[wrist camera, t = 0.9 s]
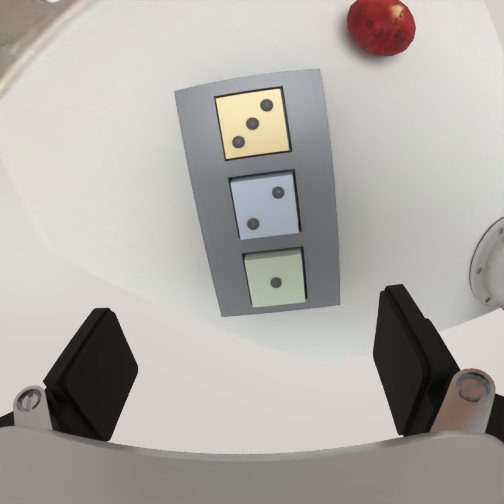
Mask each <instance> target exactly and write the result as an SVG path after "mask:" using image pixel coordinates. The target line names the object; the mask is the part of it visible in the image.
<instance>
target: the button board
mask: <svg viewBox="0 0 504 504" xmlns="http://www.w3.org/2000/svg"><path fill="white" fill-rule="evenodd" d="M274 89H280V92H281V99H282V105H283V112H284V118H285V125H286V132H287V139H288V146H289V150H288V151H279V152H271V153H264V154H256V155H249V156H243V157H236V158H230V159H226V155H225V149H224V143H223V138H222V132H221V126H220V120H219V114H218V108H217V103H216V98H222V97H227V96H233V95H239V94H245V93H252V92H259V91H266V90H274ZM174 93H175V99H176V105H177V111H178V116H179V122H180V127H181V133H182V138H183V143H184V149H185V154H186V159H187V164H188V169H189V174H190V179H191V184H192V189H193V194H194V198H195V203H196V208H197V213H198V217H199V222H200V226H201V231H202V235H203V240H204V244H205V249H206V253H207V257H208V262H209V266H210V270H211V274H212V279H213V283H214V287H215V291H216V295H217V299H218V303H219V307H220V311H221V315H222V317H227V316H240V315H251V314H262V313H273V312H283V311H292V310H301V309H310V308H319V307H327V306H335V305H340V274H339V247H338V228H337V212H336V198H335V185H334V174H333V163H332V154H331V144H330V136H329V127H328V119H327V112H326V105H325V98H324V91H323V84H322V78H321V72H320V69H307V70H296V71H286V72H277V73H269V74H261V75H254V76H247V77H241V78H235V79H229V80H224V81H219V82H213V83H208V84H204V85H199V86H194V87H190V88H186V89H181V90H177V91H174ZM283 171H291V172H292V177H293V185H294V193H295V201H296V210H297V219H298V228H299V233H294V234H285V235H277V236H268V237H260V238H251V239H243V240H241V239H240V234H239V228H238V223H237V217H236V212H235V206H234V200H233V195H232V189H231V181H232V180H233V178H238V177H245V176H252V175H260V174H267V173H275V172H283ZM292 247H300V251H301V258H302V269H303V280H304V291H305V302H302V303H293V304H284V305H274V306H264V307H253V305H252V300H251V294H250V289H249V283H248V278H247V272H246V267H245V262H244V260H245V255H246V253H248V252H257V251H266V250H274V249H283V248H292Z"/></svg>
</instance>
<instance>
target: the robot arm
mask: <svg viewBox="0 0 504 504" xmlns="http://www.w3.org/2000/svg"><path fill="white" fill-rule="evenodd" d="M470 282H471V287H472V290H473V293H474V294H475V296H476V297H477V298H478V299H479V300H480V302H482V303H483V304H485V305H488V306H498V305H500V307H501V308H502V309H503V310H504V218H503V219H501V220H500V221H498V222H497V223H496V224H494V225H493V226H492V227H491V228H490V229H489V231H488V232H487V233H486V234H485V236H484V237H483V239H482V240H481V242H480V244H479V246H478V248H477V250H476V252H475V255H474V258H473V261H472V266H471V272H470ZM373 358H374V362H375V365H376V368H377V370H378V373H379V376H380V379H381V382H382V385H383V388H384V391H385V394H386V397H387V400H388V403H389V407H390V410H391V413H392V416H393V419H394V423H395V426H396V430H397V433H398V434H399V435H403V436H404V437H401V438H395V439H390V440H385V441H380V442H375V443H368V444H362V445H355V446H348V447H340V448H333V449H325V450H315V451H305V452H293V453H275V454H205V453H189V452H176V451H166V450H157V449H148V448H140V447H133V446H127V445H121V444H115V443H109V442H107V441H109V440H110V439H111V437H112V434H113V432H114V429H115V427H116V424H117V421H118V419H119V417H120V414H121V412H122V409H123V407H124V404H125V402H126V400H127V397H128V394H129V392H130V390H131V388H132V385H133V383H134V381H135V378H136V376H137V373H138V365H137V363H136V361H135V358H134V356H133V354H132V352H131V350H130V347H129V345H128V343H127V341H126V338H125V336H124V334H123V331H122V329H121V326H120V324H119V322H118V319H117V317H116V314H115V313H114V312H112V311H111V310H110V309H109V308H95V309H94V310H93V311H92V312H91V313H90V315H89V316H88V317H87V319H86V320H85V321H84V323H83V324H82V326H81V327H80V328H79V330H78V331H77V332H76V334H75V335H74V337H73V338H72V339H71V341H70V342H69V344H68V345H67V347H66V348H65V349H64V351H63V352H62V354H61V355H60V357H59V358H58V359H57V361H56V362H55V364H54V365H53V367H52V368H51V370H50V371H49V373H48V374H47V376H46V377H45V379H44V380H43V382H44V384H45V385H46V389H45V391H44V389H43V388H41V387H40V386H30V387H27V388H25V389H23V390H22V391H21V392H20V393H19V394H18V395H17V396H16V398H15V400H14V404H13V412H11V413H8V414H6V415H4V416H2V417H0V504H504V397H503V396H501V395H498V394H495V384H494V381H493V380H492V378H491V377H490V376H489V375H488V374H486V373H485V372H483V371H481V370H478V369H473V368H471V369H464V370H460V369H459V367H458V365H457V363H456V362H455V360H454V358H453V357H452V355H451V353H450V351H449V350H448V348H447V346H446V345H445V343H444V342H443V340H442V338H441V337H440V335H439V333H438V332H437V330H436V329H435V327H434V325H433V324H432V322H431V321H430V320H429V319H427V318H425V317H424V316H423V314H422V313H421V311H420V310H419V308H418V307H417V305H416V303H415V302H414V300H413V299H412V297H411V296H410V294H409V293H408V291H407V290H406V288H405V287H404V286H403V284H398V285H391V286H386V288H385V291H381V292H380V298H379V308H378V317H377V326H376V334H375V341H374V348H373Z"/></svg>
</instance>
